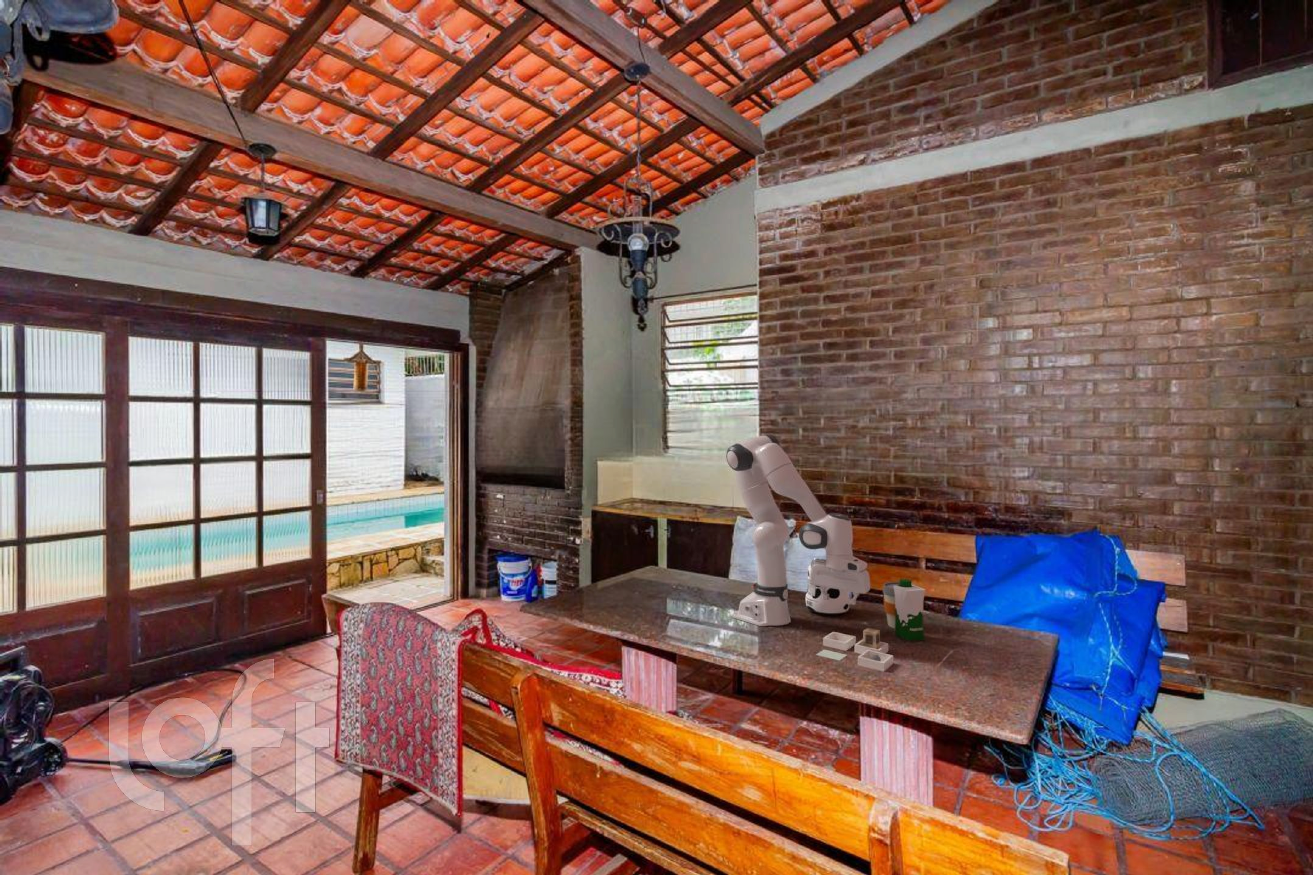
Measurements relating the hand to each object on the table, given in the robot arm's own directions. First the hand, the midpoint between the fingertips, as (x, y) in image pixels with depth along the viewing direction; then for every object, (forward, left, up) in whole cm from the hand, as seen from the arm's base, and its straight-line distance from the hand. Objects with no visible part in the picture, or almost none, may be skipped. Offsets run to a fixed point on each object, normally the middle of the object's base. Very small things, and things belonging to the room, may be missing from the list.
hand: (839, 601), depth 212 cm
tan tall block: (+11, 0, -15) cm, 18 cm away
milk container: (-20, +35, -15) cm, 43 cm away
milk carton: (+16, +23, -15) cm, 32 cm away
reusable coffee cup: (+9, +35, -15) cm, 39 cm away
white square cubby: (+11, 0, -15) cm, 19 cm away
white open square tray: (0, 0, -15) cm, 15 cm away
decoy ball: (+16, -10, -13) cm, 23 cm away
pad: (+2, -11, -15) cm, 19 cm away
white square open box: (+16, -10, -15) cm, 24 cm away
